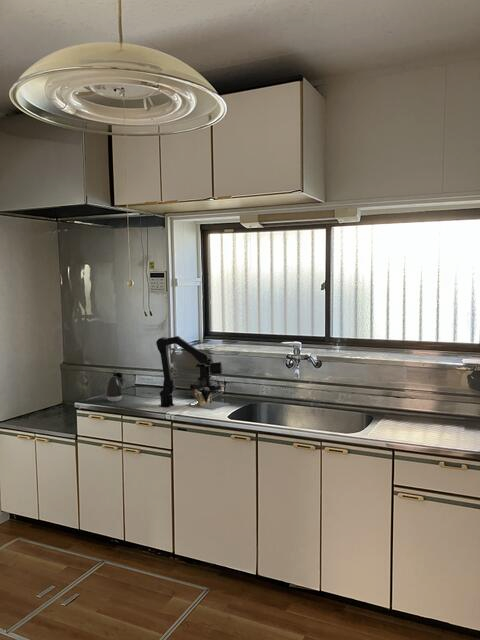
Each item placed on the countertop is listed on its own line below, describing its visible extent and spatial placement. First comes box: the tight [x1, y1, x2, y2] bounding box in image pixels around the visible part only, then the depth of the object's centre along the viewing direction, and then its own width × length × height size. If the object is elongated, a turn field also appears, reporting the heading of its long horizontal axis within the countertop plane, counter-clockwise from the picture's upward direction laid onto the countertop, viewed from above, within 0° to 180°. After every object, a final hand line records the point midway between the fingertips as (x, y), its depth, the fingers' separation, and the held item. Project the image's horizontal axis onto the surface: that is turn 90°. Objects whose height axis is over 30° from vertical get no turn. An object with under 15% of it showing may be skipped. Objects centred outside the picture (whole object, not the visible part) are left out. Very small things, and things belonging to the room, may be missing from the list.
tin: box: [191, 389, 201, 399], centre depth 343 cm, size 15×3×8 cm, turn 143°
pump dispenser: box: [105, 375, 124, 403], centre depth 334 cm, size 10×10×15 cm
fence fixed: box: [196, 392, 213, 403], centre depth 327 cm, size 10×2×5 cm, turn 56°
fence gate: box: [196, 395, 210, 406], centre depth 318 cm, size 11×2×5 cm, turn 150°
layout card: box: [186, 400, 230, 411], centre depth 320 cm, size 20×16×1 cm
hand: (206, 401), depth 316 cm, fingers closed
